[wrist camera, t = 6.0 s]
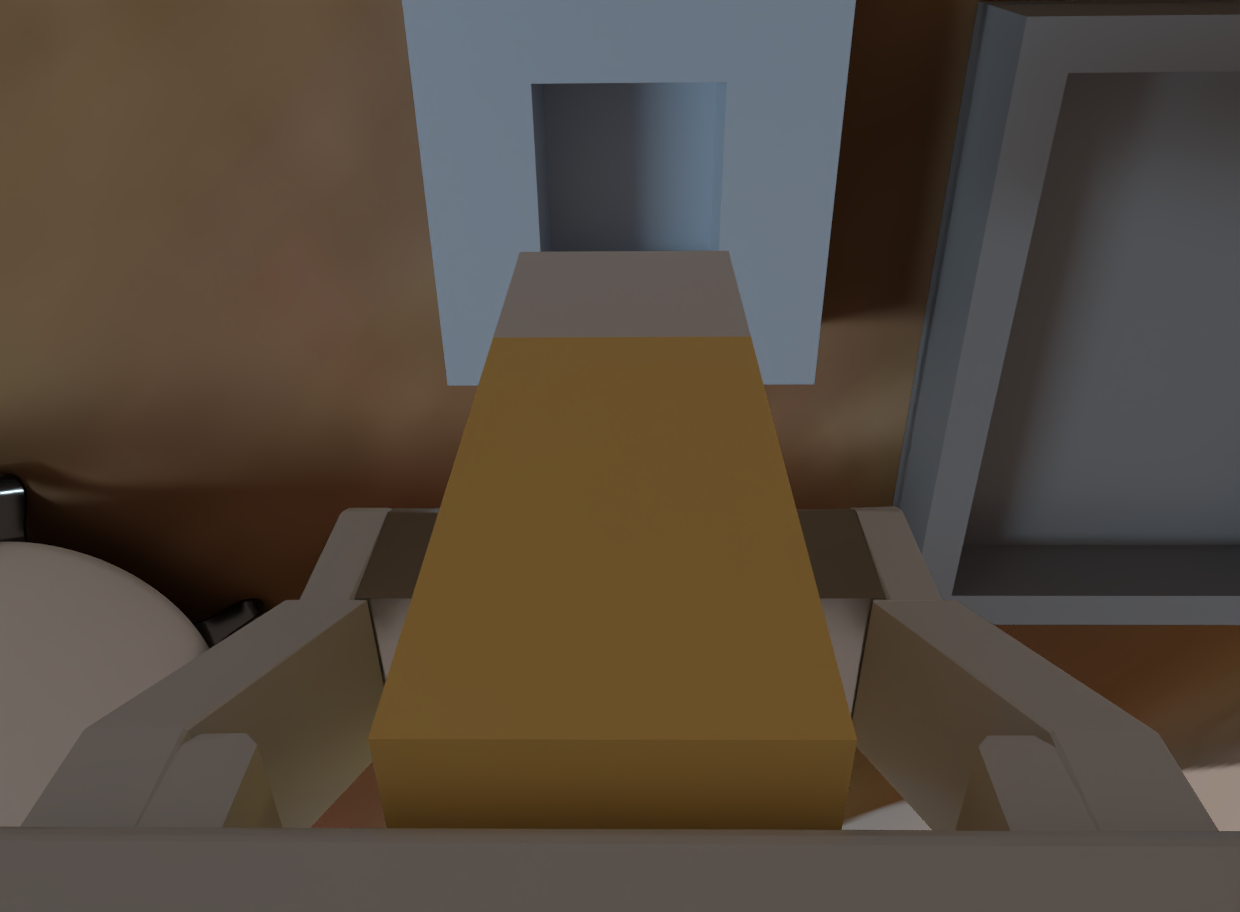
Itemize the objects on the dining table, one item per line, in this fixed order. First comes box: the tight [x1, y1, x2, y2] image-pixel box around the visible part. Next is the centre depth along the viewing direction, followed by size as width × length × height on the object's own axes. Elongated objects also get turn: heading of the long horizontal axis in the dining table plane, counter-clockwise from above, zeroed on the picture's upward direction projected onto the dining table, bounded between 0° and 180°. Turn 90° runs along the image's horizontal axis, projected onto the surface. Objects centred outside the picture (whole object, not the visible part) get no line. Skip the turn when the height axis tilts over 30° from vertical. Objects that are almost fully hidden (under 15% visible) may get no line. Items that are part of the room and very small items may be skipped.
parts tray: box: [892, 0, 1240, 625], centre depth 27 cm, size 18×14×4 cm
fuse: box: [368, 251, 857, 830], centre depth 11 cm, size 4×3×9 cm
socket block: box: [402, 0, 856, 385], centre depth 25 cm, size 10×10×4 cm
